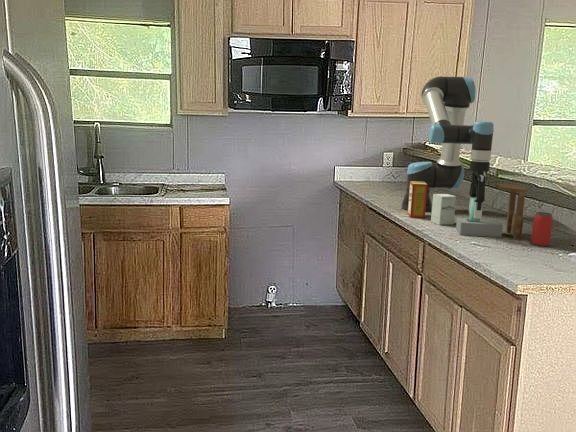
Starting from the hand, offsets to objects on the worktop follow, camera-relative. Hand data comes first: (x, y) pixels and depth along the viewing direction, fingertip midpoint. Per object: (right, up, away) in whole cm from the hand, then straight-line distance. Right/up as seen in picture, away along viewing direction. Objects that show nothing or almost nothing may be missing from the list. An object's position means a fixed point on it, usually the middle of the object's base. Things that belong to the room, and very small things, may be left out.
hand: (474, 215), depth 225 cm
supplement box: (-8, -4, +19) cm, 21 cm away
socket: (+2, -7, +1) cm, 8 cm away
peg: (0, -7, +1) cm, 7 cm away
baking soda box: (-16, 0, +34) cm, 38 cm away
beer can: (+20, -11, -15) cm, 27 cm away
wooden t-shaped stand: (+12, -8, 0) cm, 14 cm away
